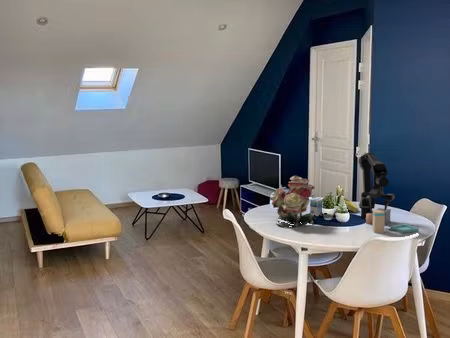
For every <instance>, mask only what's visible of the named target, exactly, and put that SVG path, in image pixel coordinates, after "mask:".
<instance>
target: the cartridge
mask: <svg viewBox="0 0 450 338" xmlns="http://www.w3.org/2000/svg"><path fill="white" fill-rule="evenodd" d="M365 224H366V225H373V214H372V213H367V214H366V218H365Z"/></svg>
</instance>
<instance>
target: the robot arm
mask: <svg viewBox="0 0 450 338" xmlns="http://www.w3.org/2000/svg"><path fill="white" fill-rule="evenodd" d="M358 164H359V167H360V169H361V171H362V188H363V192H361V194H360V195H361V197H360V201H359V203H358V207H359V208H360V216H359V218H360V219H366V214H367V213H372V214H373V210H375V207H376V200H375V199H378V198H382V199H384V207H383V209H384V210H385V211H386V209H388V206H389V204H390V203H391V201H393V200H394V199H396V198H395V197H396V196H395V193H387V194H385V193H384V188H385V187H387V186H388V185H389V183H390V180H389V179H388V177H386V176H388V170H387V167H386V164H385V163H384V162H382V161H379V160H378V159H377V157H376V155H375V153H374V152H366V153H364V154H363V155H361V156H360V157H359V158H358ZM371 173H372V182H373V183H372V185H371ZM359 208H358V209H359Z"/></svg>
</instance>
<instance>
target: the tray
mask: <svg viewBox="0 0 450 338" xmlns="http://www.w3.org/2000/svg"><path fill="white" fill-rule="evenodd" d="M419 229H420V228H419V227H416V226H412V225H410V224H407V223H403V224H396V225H390V227H389V230H392V231H395V232H397V233H400V234H409V233H417V232H419Z"/></svg>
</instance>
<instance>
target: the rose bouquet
mask: <svg viewBox="0 0 450 338" xmlns="http://www.w3.org/2000/svg"><path fill="white" fill-rule="evenodd" d="M289 180H291V181H288V184H287V187H288V188H289V191H286V190H285V189H284V188H283V187H280V188H277V189H276V190H274V191H273V193H271V195H272V196H270V198H269V201H271V206H272V208H273V209H275V210H276V211H277V212H276V213H277V215H278V218H276V220H277V219H281V220H284V221H289V222H294V223H296V224H294V225H290V224H288V223H289V222H288V223H285V222H281V223H279V224H277V225H279V226H280V227H281V228H282V227H289V226H296V227H295V228H300V226H304V225H306V224H301V223H309V221H310V223H309V224H313V225H314V220H316V216H314V215H312V214H311V213H310V212H309V213H305V212H307V208H308V206H309V205H310V198H314V197H315V195H313V190H314V189H315V188H316V187H315V186H314V185H312V184H309V182H310V179H307V178H303V177H300V176H298V175H293V176H291V177H290V178H289ZM276 208H277V209H276ZM302 213H304V214H302ZM279 222H280V221H279ZM300 222H301V223H300Z"/></svg>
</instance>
